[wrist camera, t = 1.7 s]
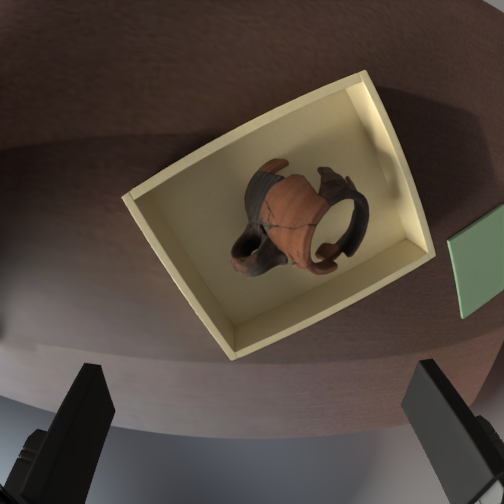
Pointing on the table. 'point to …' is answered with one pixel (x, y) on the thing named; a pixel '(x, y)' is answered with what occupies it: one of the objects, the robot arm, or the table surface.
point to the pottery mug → (295, 221)
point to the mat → (479, 261)
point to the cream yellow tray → (235, 222)
